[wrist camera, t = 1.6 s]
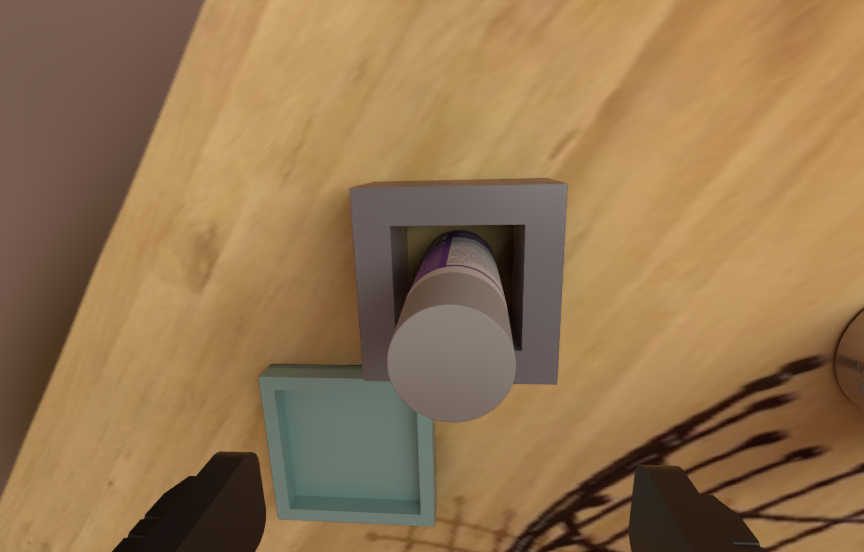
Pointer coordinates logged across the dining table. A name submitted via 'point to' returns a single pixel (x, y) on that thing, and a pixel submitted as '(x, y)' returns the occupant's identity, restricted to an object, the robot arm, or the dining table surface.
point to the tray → (346, 448)
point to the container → (454, 333)
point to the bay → (463, 205)
